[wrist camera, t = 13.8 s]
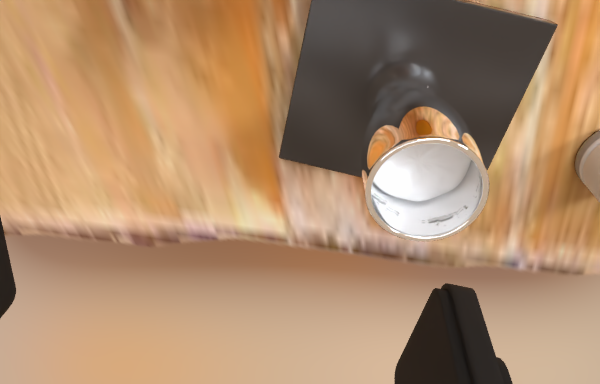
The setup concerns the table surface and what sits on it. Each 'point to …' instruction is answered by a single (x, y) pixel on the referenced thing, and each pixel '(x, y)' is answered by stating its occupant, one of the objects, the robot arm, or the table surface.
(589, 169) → the travel mug
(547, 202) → the table surface
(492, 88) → the serving board
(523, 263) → the table surface
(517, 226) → the table surface
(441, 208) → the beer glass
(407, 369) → the robot arm
